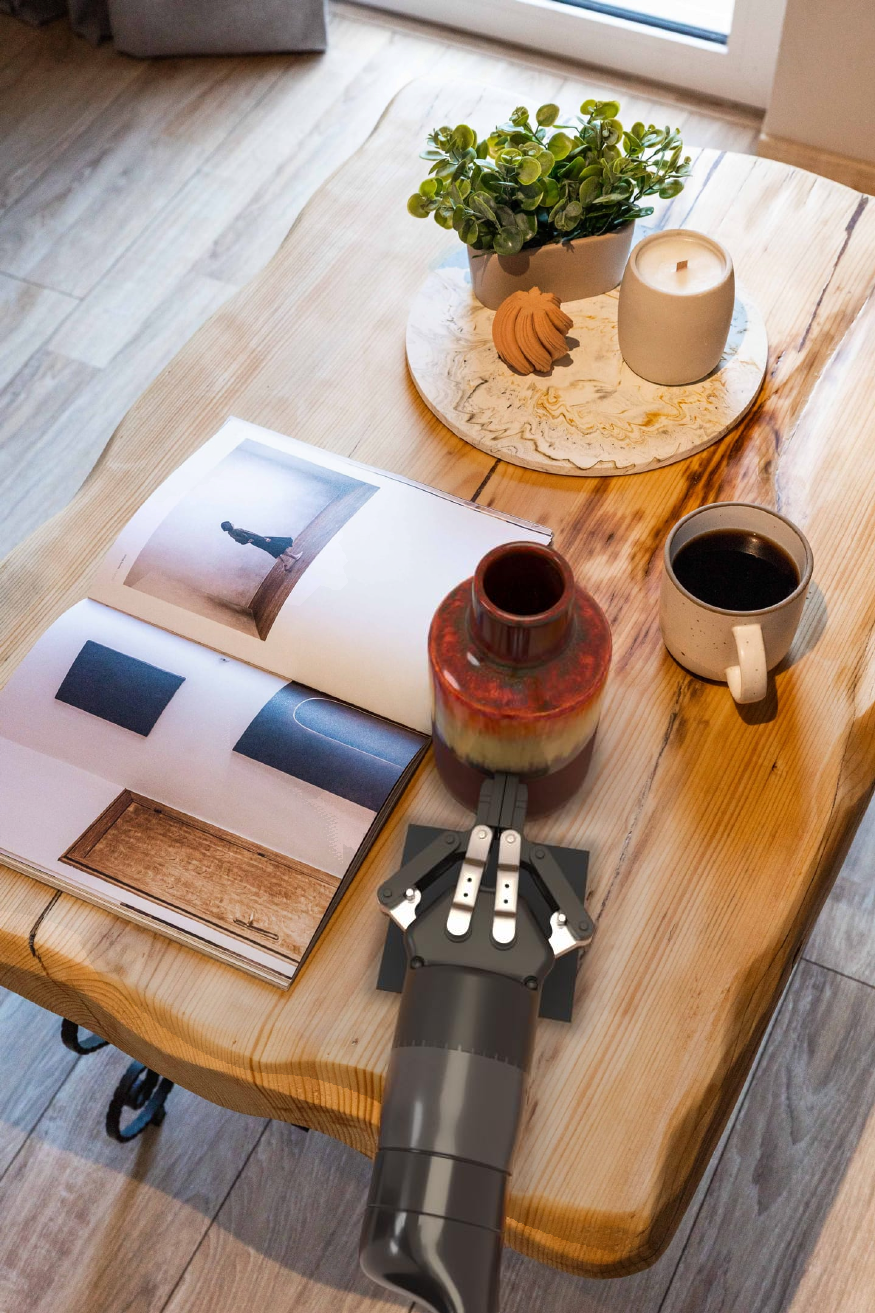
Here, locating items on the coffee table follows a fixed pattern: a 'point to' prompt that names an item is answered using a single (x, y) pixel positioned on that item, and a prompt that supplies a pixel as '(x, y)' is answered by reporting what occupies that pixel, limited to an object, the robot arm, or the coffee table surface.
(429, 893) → the coaster
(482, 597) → the vase
